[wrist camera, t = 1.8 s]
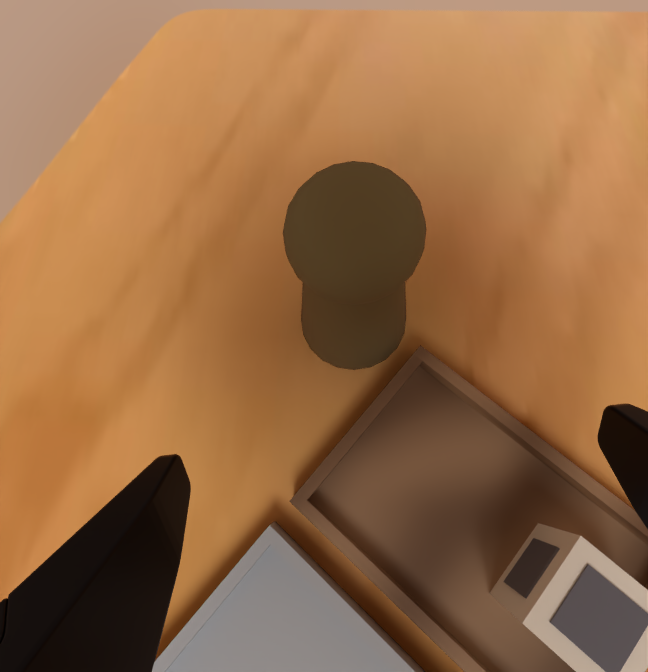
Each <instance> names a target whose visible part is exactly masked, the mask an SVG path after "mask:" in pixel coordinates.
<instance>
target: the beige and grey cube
mask: <svg viewBox="0 0 648 672" xmlns="http://www.w3.org/2000/svg"><path fill="white" fill-rule="evenodd" d="M490 594H491V595H492V596H493V597H494V598H495V599H496V600H497V601H498V602H499V603H501V604H502V605H503V606H504V607H505V608H506V609H507V610H508V611H509V612H510V613H512V614H513V615H514V616H515V617H516V618H517V619H518V620H519V621H520V622H521V623H523V624H524V625H525V626H526V627H527V628H528V629H529V630H530V631H531V632H532V633H534V634H535V635H536V636H537V637H538V638H539V639H540V640H541V641H542V642H544V643H545V644H546V645H547V646H548V647H549V648H550V649H551V650H552V651H554V652H555V653H556V654H557V655H558V656H559V657H560V658H561V659H562V660H563V661H565V662H566V663H567V664H568V665H569V666H570V667H571V668H572V669H573V670H575V671H576V672H645V671H646V670H647V668H648V590H647V589H646V588H645V587H643V586H642V585H641V584H640V583H638V582H637V581H636V580H635V579H634V578H632V577H631V576H630V575H629V574H627V573H626V572H625V571H624V570H622V569H621V568H620V567H619V566H618V565H616V564H615V563H614V562H613V561H611V560H610V559H609V558H608V557H606V556H605V555H604V554H603V553H602V552H600V551H599V550H598V549H597V548H595V547H594V546H593V545H592V544H591V543H589V542H588V541H587V540H586V539H584V538H583V537H582V536H580V535H577V534H573V533H570V532H567V531H563V530H560V529H556V528H553V527H550V526H546V525H543V524H539V523H538V524H537V525H536V527H535V528H534V530H533V531H532V533H531V534H530V535H529V537H528V538H527V540H526V541H525V543H524V544H523V545H522V547H521V548H520V550H519V551H518V553H517V554H516V555H515V557H514V558H513V560H512V561H511V563H510V564H509V566H508V567H507V568H506V570H505V571H504V573H503V574H502V576H501V577H500V578H499V580H498V581H497V583H496V584H495V586H494V587H493V589H492V590H491V591H490Z"/></svg>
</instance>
